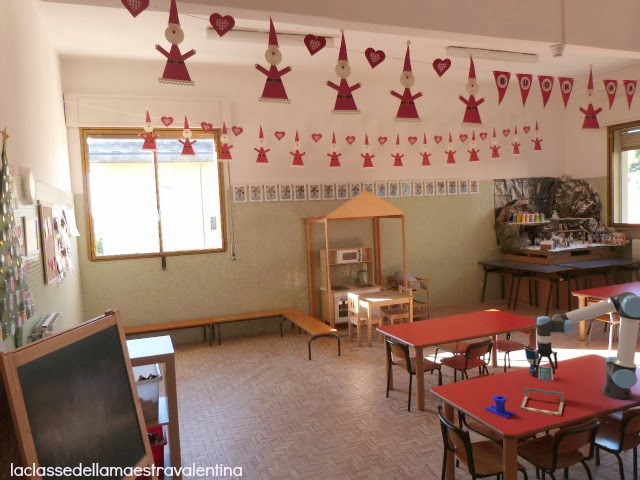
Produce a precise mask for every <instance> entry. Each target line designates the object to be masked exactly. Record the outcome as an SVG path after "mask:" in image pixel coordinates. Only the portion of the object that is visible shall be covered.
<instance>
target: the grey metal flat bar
mask: <svg viewBox="0 0 640 480" xmlns="http://www.w3.org/2000/svg"><path fill="white" fill-rule="evenodd" d="M529 392H533V393H534V392H535V393H542V394H547V395H549V394H550V395H556V396H560V402H563V403H564V404H565V398H564V396H565V395H564V394H565V393H564V392H559V391H554V390H553V391H552V390H545V389H540V388H533V387H525V388H524V397H525V396H527V397H528V398H529Z"/></svg>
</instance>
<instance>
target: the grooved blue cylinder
mask: <svg viewBox="0 0 640 480" xmlns="http://www.w3.org/2000/svg"><path fill="white" fill-rule="evenodd" d="M539 367H540V374H541V375H540V380H541V381H546V382H550V381H552V379H551V368H552V367H551V366H539Z"/></svg>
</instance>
